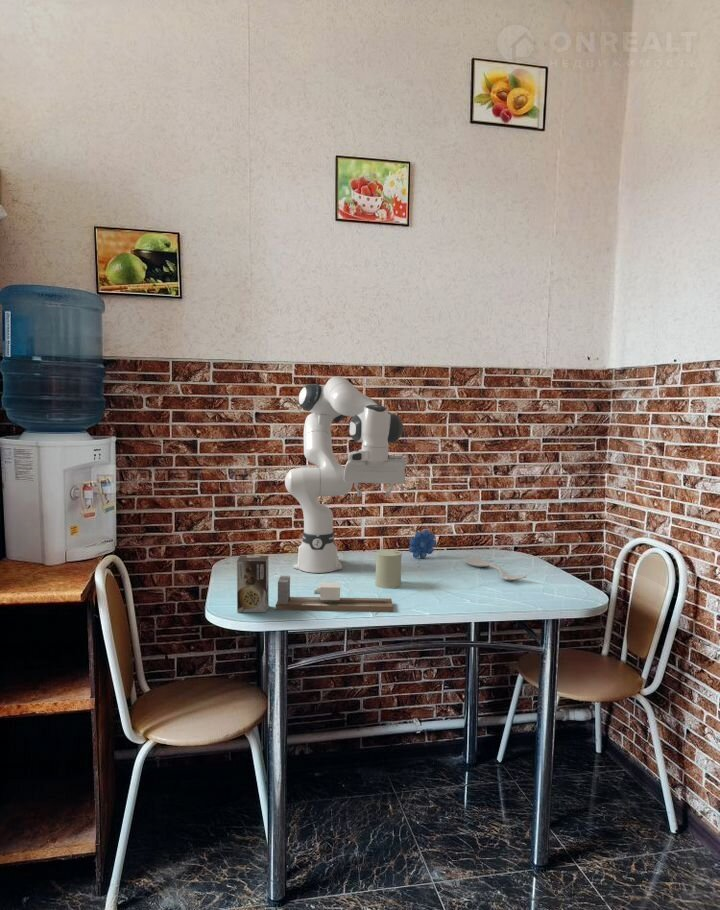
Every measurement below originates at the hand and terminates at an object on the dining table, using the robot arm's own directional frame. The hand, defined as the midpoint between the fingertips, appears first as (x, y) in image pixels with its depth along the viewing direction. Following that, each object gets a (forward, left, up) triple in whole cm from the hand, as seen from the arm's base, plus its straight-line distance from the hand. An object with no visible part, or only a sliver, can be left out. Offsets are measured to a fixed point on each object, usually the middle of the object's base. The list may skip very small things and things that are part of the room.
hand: (373, 496), depth 202 cm
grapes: (-49, +22, -33) cm, 64 cm away
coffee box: (+17, -37, -33) cm, 52 cm away
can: (-11, +6, -33) cm, 36 cm away
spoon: (-29, +47, -34) cm, 65 cm away
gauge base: (+13, -12, -33) cm, 37 cm away
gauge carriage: (+13, -14, -31) cm, 37 cm away
